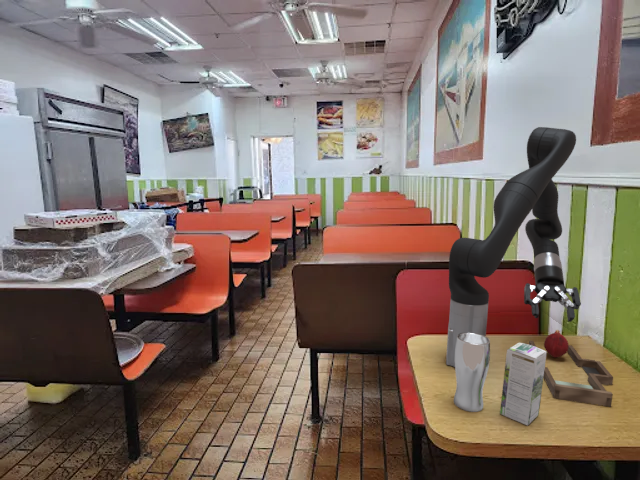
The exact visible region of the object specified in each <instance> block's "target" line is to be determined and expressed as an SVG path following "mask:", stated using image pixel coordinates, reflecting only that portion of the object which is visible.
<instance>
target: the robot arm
mask: <svg viewBox="0 0 640 480" xmlns="http://www.w3.org/2000/svg"><path fill="white" fill-rule="evenodd" d="M576 142H577V135H576V133H575V132H574V131H572V130H569V129H564V128H556V127H547V126H546V127H545V126H544V127H543V126H538V127H536V128H534V129H533V130H532V131H531V133H530V134H529V136H528V140H527V143H526V156H527V157H526V158H527V164H528V169H525V170H523V171H521V172H519V173H517V174H515V175H514V176H512V177H511V178H509V179H508V180H506V182H505V183H504V185H503V187H502V188H501V189H500V190H499V192H498V194H497V195H496V197H495V199H494V201H493V215H494V226H493V228H492V230H491V231H490V233H489V234H488V236H487V237H486V238H485V239H477V238H472V237H460V238H458V239H456V240H455V241H454V242H453V244H452V246H451V248H450V252H449V256H448V257H449V259H448V288H449V291H450V292H449V293H450V303H449V318H448V319H449V320H448V324H447V325H448V327H447V339H446V340H447V343H446V353H445V354H446V357H445V359H446V362H445V364H446V365H447V366H451V367H454V368H455V348H456V341H457V335H458V334H460V333H477V334H481V335H483V336H486V335H487V324H488V314H489V313H488V312H489V310H488V309H489V301H490V295H489V294H490V293H489V291H488V290H487V288H485V287H483V286H482V285H481V283H479V282H478V281H477V279H476V277H478V278H481V279H482V278H489V277H490V276H492V275H493V274H494V273H495V271H496V270H497V269H498V268H499V266H500V265H501V262H502V260H503V259H504V256H505V254H506V253H507V251H508V249H509V246H510V245H511V242H512V241H513V239H514V238H515V236H516V234H517V233H518V231H519V229H520V228H521V226H522V224H523V222H525V219H526V218H527V217H528V216H529V214H530V212H532V215H533V216H534V218H532V219H529V220H528V221H527V222H526V224H525V227H524V228H525V230H524V231H525V234H526V236H527V239H528V240H529V242H530V245H531V247H532V251H533V271H534V281H535V285H531V284H530V283H528V282H526V283H525V286H524V288H523V291H524V293H523V303H524V305H530V306H531V314H532V316H533V317H534V318H535V319H538V318H539V316H540V309H539V303H541V302H542V301H544V302H553V303H557V302H558V303H559V304H560V305H561V306H563V307H565V309H566V316H567V317H566V318H567V322H568V323H569V322H570V323H572V321H574V320H575V317H576V315H575V310H579V308H580V306H582V301H581V297H580V294H579V289H578V288H577V287H576V286H575V287H574V286H573V287H572V288H567V287H566V286H565V280H564V274H563V273H564V272H563V266H562V261H561V258H560V250H559V245H558V243H557V242H556V241H554V240H557V239H558V238H560V237H561V236H562V234H563V227H562V223H561V220H560V217H559V213H558V211H559V210H558V205H559V191H558V188H557V186H556V184H555V182H554V181H553V178H554V177H555V175H556V174H557V173H558V171H560V169H561V168H562V167H563V166H564V165H565V163H566V162H567V161H568V159H570V157H571V155H572V153H573V151H574V149H575V147H576ZM533 291H534V292H535V293H536V294H537V295H536V297H534V298H533V299H532V298H531V293H532V292H533ZM566 294H567V295H569V296H567V295H566ZM569 297H570V298H571V300H572V301H571V300H570V298H569ZM486 337H487V336H486Z"/></svg>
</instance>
